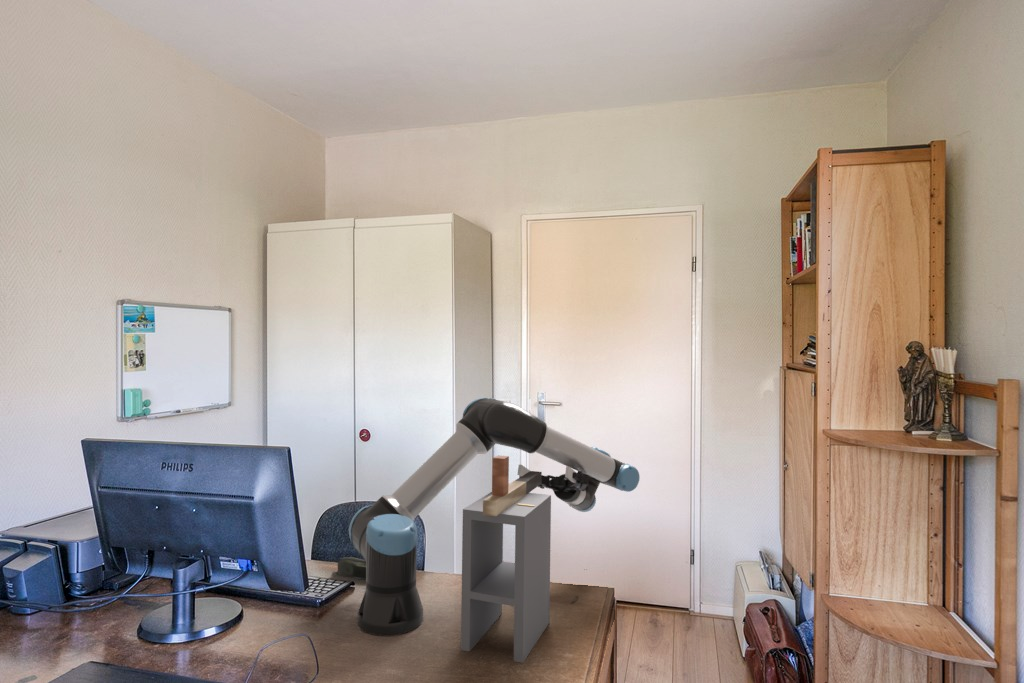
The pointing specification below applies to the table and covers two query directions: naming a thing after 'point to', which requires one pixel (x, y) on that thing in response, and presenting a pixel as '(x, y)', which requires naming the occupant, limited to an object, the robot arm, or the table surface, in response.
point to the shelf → (506, 571)
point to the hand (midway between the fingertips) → (542, 470)
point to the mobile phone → (352, 568)
